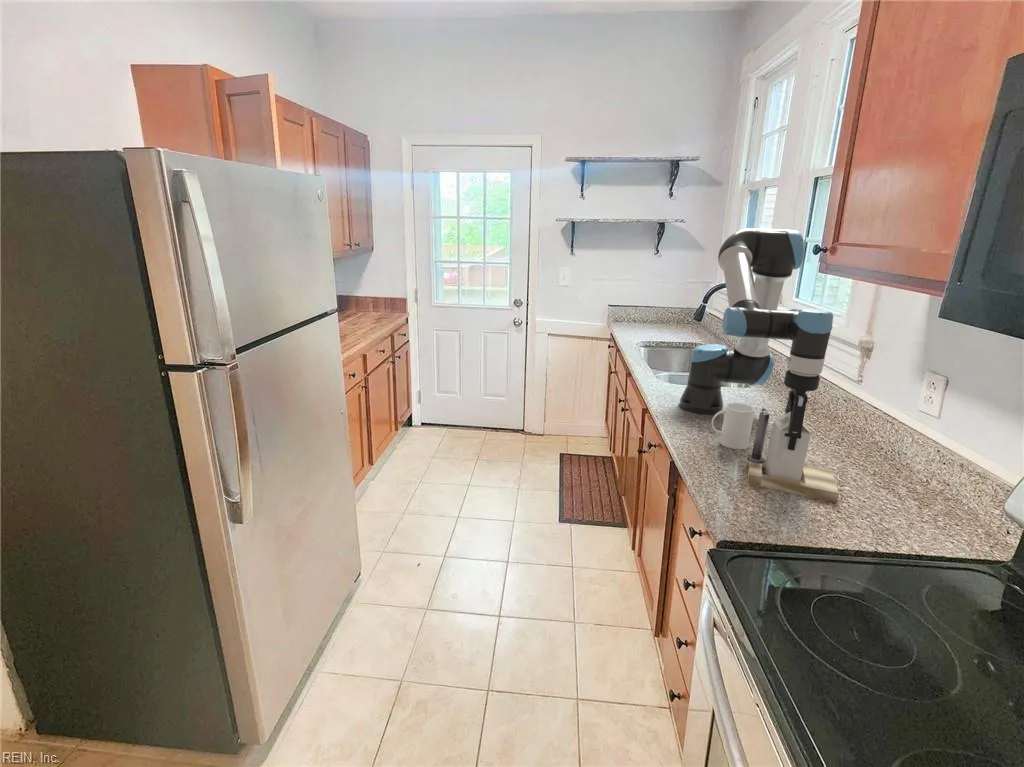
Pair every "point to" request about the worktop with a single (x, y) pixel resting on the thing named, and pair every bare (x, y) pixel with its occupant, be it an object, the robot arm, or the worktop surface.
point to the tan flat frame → (812, 484)
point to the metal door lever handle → (759, 438)
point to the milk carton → (776, 448)
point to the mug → (735, 425)
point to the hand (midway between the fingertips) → (786, 450)
